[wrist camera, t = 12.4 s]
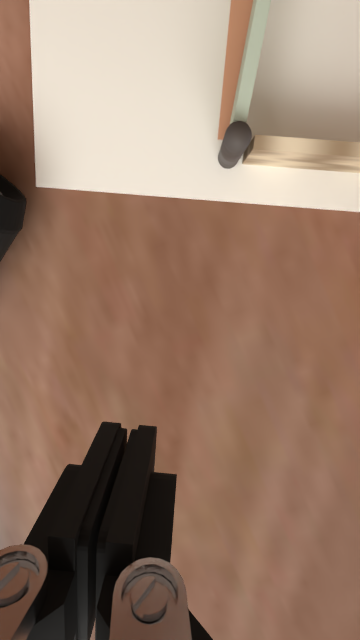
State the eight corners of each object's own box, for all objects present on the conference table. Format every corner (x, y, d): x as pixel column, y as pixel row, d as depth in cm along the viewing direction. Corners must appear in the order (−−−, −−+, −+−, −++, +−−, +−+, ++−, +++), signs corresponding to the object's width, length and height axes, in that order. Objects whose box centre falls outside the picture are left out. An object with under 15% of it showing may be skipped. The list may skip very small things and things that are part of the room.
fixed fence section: (385, 157, 32) (444, 135, 24) (380, 180, 32) (436, 165, 25) (219, 145, 32) (226, 119, 24) (216, 167, 33) (223, 149, 25)
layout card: (457, -166, 26) (460, -171, 25) (373, 213, 33) (375, 213, 33) (24, -189, 27) (22, -194, 26) (37, 186, 34) (35, 186, 34)
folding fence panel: (240, 141, 31) (251, 120, 25) (223, 138, 31) (230, 117, 25) (289, -102, 27) (317, -201, 20) (269, -105, 27) (291, -206, 20)
